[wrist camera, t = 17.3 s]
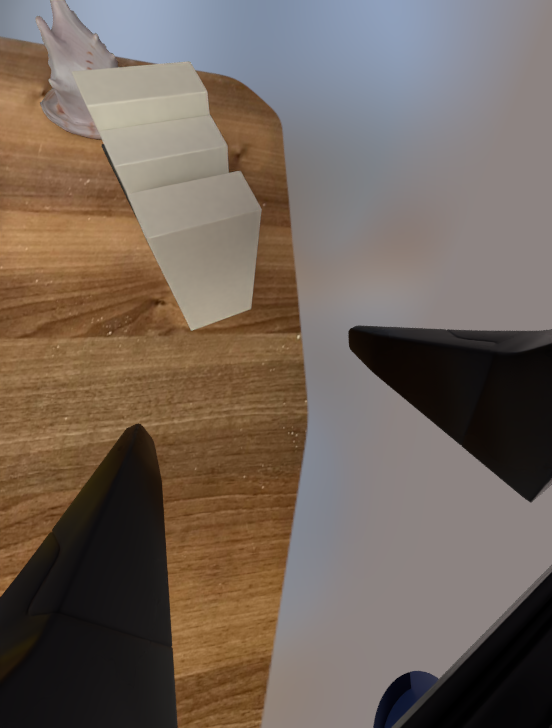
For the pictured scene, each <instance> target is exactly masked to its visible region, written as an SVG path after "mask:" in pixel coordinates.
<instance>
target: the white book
mask: <svg viewBox="0 0 552 728" xmlns="http://www.w3.org/2000/svg"><path fill="white" fill-rule="evenodd" d="M127 196H128V199H129V201H130V203H131V205H132V208H133V210H134V212H135V215H136V217H137V219H138V222H139V224H140V226H141V228H142V231H143V233H144V235H145V238H146V240H147V242H148V244H149V246H150V248H151V250H152V252H153V254H154V256H155V258H156V260H157V262H158V264H159V266H160V268H161V270H162V272H163V274H164V276H165V278H166V281H167V283H168V285H169V287H170V289H171V291H172V293H173V295H174V297H175V299H176V301H177V303H178V305H179V307H180V309H181V311H182V313H183V315H184V317H185V319H186V321H187V323H188V325H189V327H190V329H191V331H192V330H195V329H198V328H201V327H203V326H206V325H209V324H211V323H214V322H217V321H220V320H222V319H225V318H228V317H230V316H233V315H236V314H239V313H241V312H244V311H247V310H250V309H251V305H252V295H253V286H254V276H255V267H256V257H257V248H258V238H259V229H260V219H261V207H260V205H259V204H258V202H257V200H256V198H255V196H254V195H253V193H252V191H251V189H250V187H249V185H248V184H247V182H246V180H245V178H244V176H243V175H242V173H241V171H236V172H231V173H226V174H221V175H216V176H212V177H207V178H202V179H197V180H192V181H187V182H183V183H178V184H173V185H168V186H163V187H158V188H154V189H149V190H144V191H139V192H134V193H130V194H127Z"/></svg>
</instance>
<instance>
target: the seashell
mask: <svg viewBox="0 0 552 728" xmlns="http://www.w3.org/2000/svg"><path fill="white" fill-rule="evenodd" d="M50 3H51V7H52V13H53V26H52V29H51V30H50V28H49V27H48V25H47V23H46V22H45V21H44V20H43V19H42V17H40V16H37V17H36V23H37V26H38V28H39V30H40V32H41V36H42V40H43V42H44V45H45V47H46V48H47V50H48V53H49V54H48V57H49V60H48V64H49V66H50V68H51V71H52V73H51V78H50V79H49V83H50V84H51V86H52V87H53V88H52V89H51V90H50V91H49V92H48V93H47V94H46V96H45V97H44V99H43V100H42V102H40V104H41V107H42V110H43V112H44V113H45V115H46V116H47V117H48V119H50V120H51V121H52V122H54V123H55V124H57V125H58V126H60V127H61V128H63V129H64V130H66V131H68V132H70V133H73V134H77V135H81V136H84V137H88V138H93V139H101V136H100V134H99V132H98V130H97V127H96V125H95V123H94V121H93V119H92V117H91V115H90V113H89V111H88V108H87V106H86V104H85V102H84V100H83V97H82V95H81V93H80V90H79V88H78V86H77V84H76V81H75V79H74V77H73V75H72V72H73V71H83V70H95V69H107V68H119V67H118V61H117V59H116V58H115V56H114V54H113V53H110V52H109V51H108V50H107V49H106V46H105V44H103V43H102V42H101V41H100V39H99V37H98V35H97V34H96V33H95V34H93V33H92V32H91V31H90V30H89V29H87V28H86V26H84V25H83V23H82V22H81V21H80V20H79V18H78V17H77V15H76V14H75V13H74V11H71V10H70V8H69V7H68V5H67V4H66V1H65V0H50Z"/></svg>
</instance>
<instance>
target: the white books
mask: <svg viewBox="0 0 552 728" xmlns="http://www.w3.org/2000/svg"><path fill="white" fill-rule="evenodd" d="M72 75H73V77H74V79H75V81H76V84H77V86H78V88H79V90H80V93H81V95H82V97H83V100H84V102H85V104H86V106H87V108H88V111H89V113H90V115H91V117H92V119H93V121H94V123H95V125H96V127H97V130H98V132H99V134H100V136H101V139H102V141H103V143H104V144H102V148H103V150H104V152H105V155H106V157H107V159H108V161H109V163H110V165H111V167H112V169H113V171H114V173H115V175H116V177H117V179H118V181H119V183H120V185H121V187H122V189H123V191H124V193H125V195H126V198H127V200H128V202H129V204H130V206H131V208H132V205H131V203H130V201H129V199H128V196H127V194H130V193H134V192H139V191H144V190H149V189H154V188H158V187H163V186H168V185H173V184H178V183H183V182H187V181H192V180H197V179H202V178H207V177H212V176H216V175H221V174H226V173H229V170H228V146H227V144H226V142H225V140H224V138H223V137H222V135H221V133H220V131H219V130H218V128H217V126H216V124H215V122H214V121H213V119H212V117H211V115H209V104H208V93H207V90H206V89H205V87H204V85H203V83H202V82H201V80H200V78H199V76H198V75H197V73H196V71H195V69H194V68H193V66H192V64H191V62H179V63H167V64H155V65H143V66H131V67H119V68H107V69H95V70H83V71H73V72H72ZM132 210H133V208H132ZM133 212H134V210H133ZM134 214H135V212H134ZM135 216H136V215H135ZM136 218H137V217H136ZM137 220H138V219H137Z"/></svg>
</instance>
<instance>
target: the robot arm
mask: <svg viewBox="0 0 552 728" xmlns="http://www.w3.org/2000/svg"><path fill="white" fill-rule="evenodd" d="M349 347H350V349H351V350H352V352H353V353H354V354H355V355H356V356H357V357H358V358H359V359H360V360H361V361H362V362H363V363H364V364H365V365H366V366H367V367H368V368H369V369H370V370H371V371H372V372H373V373H374V374H375V375H377V376H378V377H379V378H380V379H381V380H383V381H384V382H385V383H386V384H387V385H389V386H390V387H391V388H392V389H393V390H395V391H396V392H397V393H398V394H400V395H401V396H402V397H403V398H404V399H406V400H407V401H408V402H409V403H410V404H412V405H413V406H414V407H415V408H416V409H418V410H419V411H420V412H421V413H423V414H424V415H425V416H426V417H427V418H428V419H430V420H431V421H432V422H433V423H434V424H436V425H437V426H438V427H439V428H441V429H442V430H443V431H444V432H445V433H447V434H448V435H449V436H450V437H451V438H453V439H454V440H455V441H456V442H457V443H459V444H460V445H462V447H463V448H465V449H466V450H467V451H468V452H469V453H470V454H472V455H473V456H474V457H475V458H476V459H478V460H479V461H480V462H481V463H482V464H484V465H485V466H486V467H487V468H489V469H490V470H491V471H492V472H494V474H496V475H497V476H498V477H499V478H501V479H502V480H503V481H504V482H505V483H507V484H508V485H509V486H510V487H511V488H513V489H514V490H515V491H516V492H517V493H519V494H520V495H521V496H522V497H524V498H525V499H526V500H528V501H529V502H533V500H535V499H536V498H537V497H538V496H539V495H541V494H542V493H543V492H544V491H545V490H546V489H547V488H549V487H550V486H551V485H552V329H551V330H543V331H472V330H444V329H423V328H400V327H377V326H355V327H353V328H351V329H350V330H349ZM171 646H172V634H171V619H170V603H169V587H168V571H167V556H166V540H165V524H164V508H163V492H162V480H161V475H160V470H159V465H158V460H157V455H156V450H155V445H154V441H153V439H152V437H151V436H150V435H149V434H148V432H147V431H146V430H145V429H144V427H143V426H142V425H141V424H135V425H133V426H131V427H129V428H127V429H126V430H125V431H124V433H123V434H122V435H121V437H120V438H119V439H118V441H117V442H116V443H115V445H114V446H113V448H112V449H111V450H110V452H109V453H108V454H107V456H106V457H105V458H104V460H103V461H102V463H101V464H100V465H99V467H98V468H97V469H96V471H95V472H94V473H93V475H92V476H91V477H90V479H89V480H88V482H87V483H86V484H85V486H84V487H83V488H82V490H81V491H80V492H79V494H78V495H77V497H76V498H75V499H74V501H73V502H72V503H71V505H70V506H69V507H68V509H67V510H66V511H65V513H64V514H63V516H62V517H61V518H60V520H59V521H58V522H57V524H56V525H55V526H54V528H53V529H52V532H51V533H49V534H48V536H47V537H46V539H45V540H44V541H43V543H42V544H41V545H40V547H39V548H38V549H37V551H36V552H35V553H34V555H33V556H32V557H31V559H30V560H29V561H28V563H27V564H26V565H25V567H24V568H23V569H22V571H21V572H20V573H19V575H18V576H17V577H16V578H15V580H14V581H13V582H12V583H11V585H10V586H9V587H8V588H7V590H6V591H5V592H4V593H3V595H2V596H1V597H0V728H178V726H177V710H176V694H175V679H174V663H173V648H172V647H171ZM391 728H552V565H551V566H550V567H549V568H548V569H547V570H546V571H545V572H544V573H543V574H542V575H541V576H540V577H539V578H538V579H537V580H536V581H535V582H534V583H533V584H532V585H531V586H530V587H529V588H528V589H527V590H526V591H525V592H524V593H523V594H522V595H521V596H520V597H519V598H518V600H516V601H515V603H514V604H513V605H512V606H511V607H510V608H509V609H508V610H507V611H506V612H505V613H504V614H503V615H502V616H501V617H500V618H499V619H498V620H497V621H496V622H495V623H494V624H493V625H492V626H491V627H490V628H489V629H488V630H487V631H486V632H485V633H484V634H483V635H482V636H481V637H480V638H479V639H478V640H477V641H476V642H475V643H474V644H473V645H472V646H471V647H470V648H469V649H468V650H467V651H466V652H465V653H464V654H463V655H462V656H461V658H459V659H458V660H457V661H456V662H455V663H454V664H453V665H452V666H451V667H450V669H449V670H448V671H446V672H445V674H444V675H443V676H442V677H441V678H440V679H439V680H438V681H437V682H436V683H435V684H434V685H433V686H432V687H431V688H430V689H429V690H428V691H427V692H426V693H425V694H424V695H423V696H422V697H421V698H420V699H419V700H418V701H417V702H416V703H415V704H414V705H413V706H412V707H411V708H410V709H409V710H408V711H407V712H406V713H405V714H404V715H403V716H402V717H401V718H400V719H399V720H398V721H397V722H396V723H395V724H394V725H393V726H392V727H391Z"/></svg>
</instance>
